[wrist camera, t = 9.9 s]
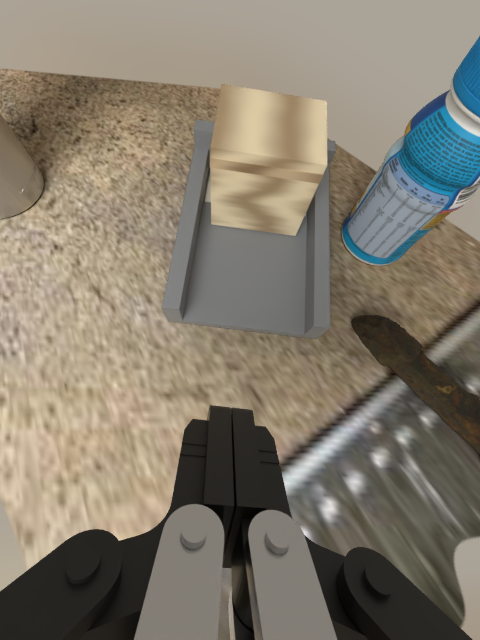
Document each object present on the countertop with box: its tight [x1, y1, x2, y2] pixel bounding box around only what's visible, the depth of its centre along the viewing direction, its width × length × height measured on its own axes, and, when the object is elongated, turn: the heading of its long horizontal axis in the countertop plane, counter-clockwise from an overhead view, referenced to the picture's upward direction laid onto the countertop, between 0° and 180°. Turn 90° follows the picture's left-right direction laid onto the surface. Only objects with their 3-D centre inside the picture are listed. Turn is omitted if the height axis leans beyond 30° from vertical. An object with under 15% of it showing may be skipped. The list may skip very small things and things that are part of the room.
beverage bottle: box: [342, 37, 480, 266], centre depth 27 cm, size 8×8×20 cm
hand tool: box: [352, 315, 480, 454], centre depth 28 cm, size 19×4×5 cm, turn 41°
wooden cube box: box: [210, 84, 327, 236], centre depth 30 cm, size 10×8×10 cm
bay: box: [162, 120, 335, 339], centre depth 31 cm, size 16×22×6 cm
